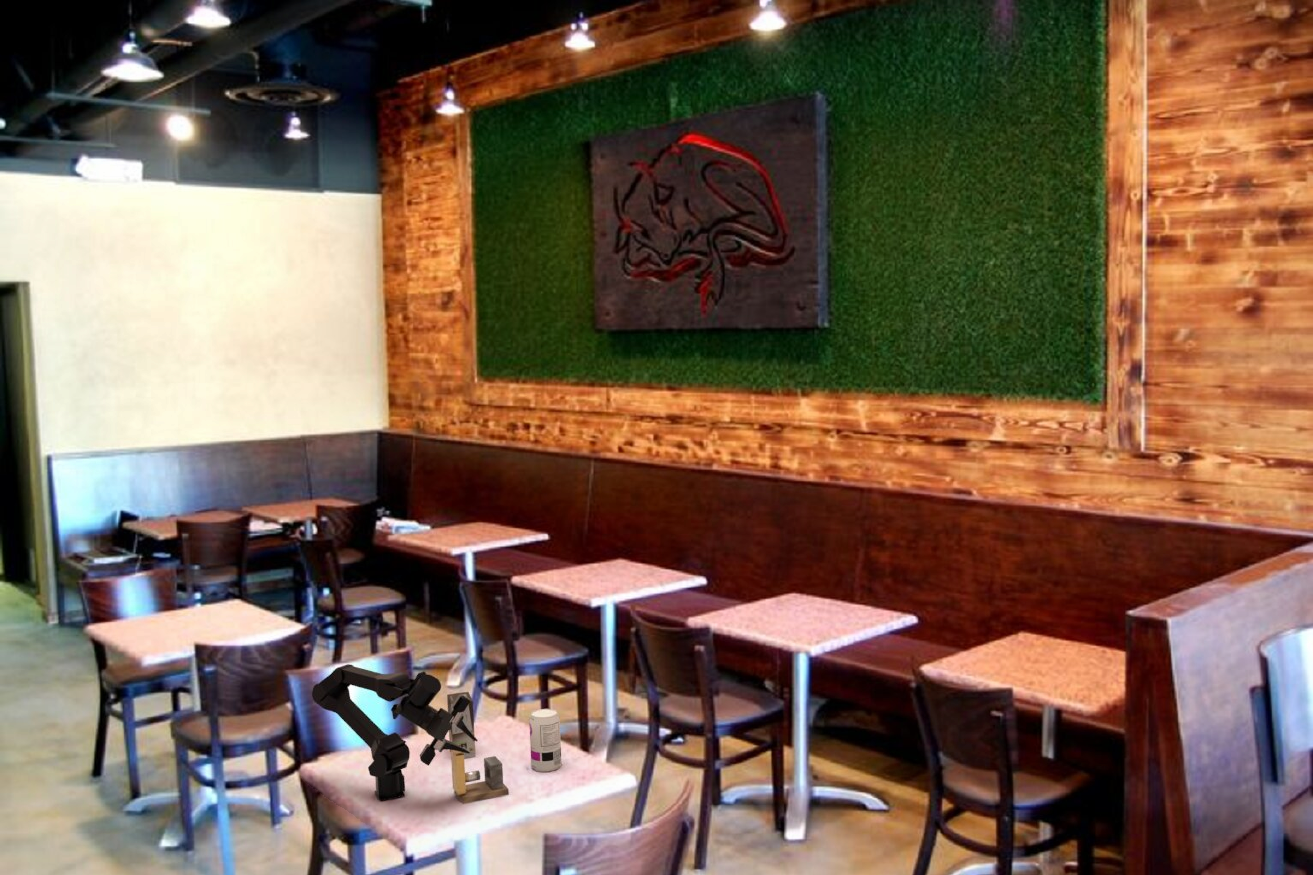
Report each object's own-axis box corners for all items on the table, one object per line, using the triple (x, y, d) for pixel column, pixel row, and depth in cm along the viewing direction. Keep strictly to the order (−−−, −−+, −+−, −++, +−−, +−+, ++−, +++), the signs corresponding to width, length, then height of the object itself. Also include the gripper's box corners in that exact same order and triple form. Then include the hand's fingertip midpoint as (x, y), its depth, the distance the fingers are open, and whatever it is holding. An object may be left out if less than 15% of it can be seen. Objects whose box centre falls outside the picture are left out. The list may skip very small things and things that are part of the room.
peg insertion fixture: (462, 803, 299) (461, 772, 298) (454, 792, 306) (452, 762, 306) (508, 794, 304) (507, 763, 304) (498, 783, 312) (497, 754, 311)
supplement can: (527, 771, 319) (524, 717, 318) (537, 760, 327) (535, 707, 326) (555, 773, 317) (553, 718, 316) (565, 762, 325) (563, 708, 324)
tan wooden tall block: (458, 794, 300) (456, 756, 299) (452, 788, 305) (450, 749, 304) (482, 789, 303) (480, 751, 302) (476, 783, 307) (474, 745, 306)
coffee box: (476, 756, 332) (473, 700, 330) (453, 759, 330) (450, 703, 328) (471, 745, 340) (468, 691, 339) (448, 748, 338) (446, 693, 337)
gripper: (400, 751, 290) (454, 785, 292) (444, 685, 294) (497, 718, 296) (399, 744, 300) (451, 777, 303) (441, 680, 304) (492, 713, 307)
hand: (473, 746), depth 302 cm, fingers open, 3 cm apart
